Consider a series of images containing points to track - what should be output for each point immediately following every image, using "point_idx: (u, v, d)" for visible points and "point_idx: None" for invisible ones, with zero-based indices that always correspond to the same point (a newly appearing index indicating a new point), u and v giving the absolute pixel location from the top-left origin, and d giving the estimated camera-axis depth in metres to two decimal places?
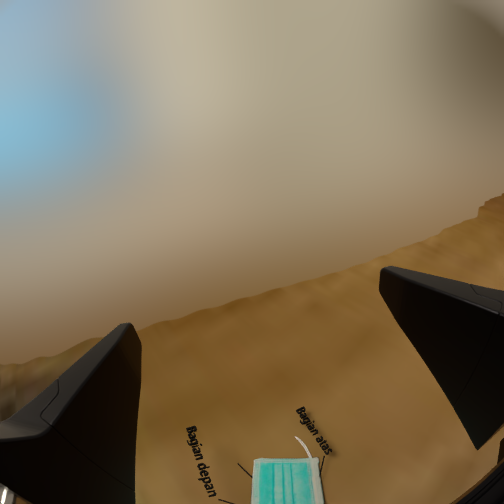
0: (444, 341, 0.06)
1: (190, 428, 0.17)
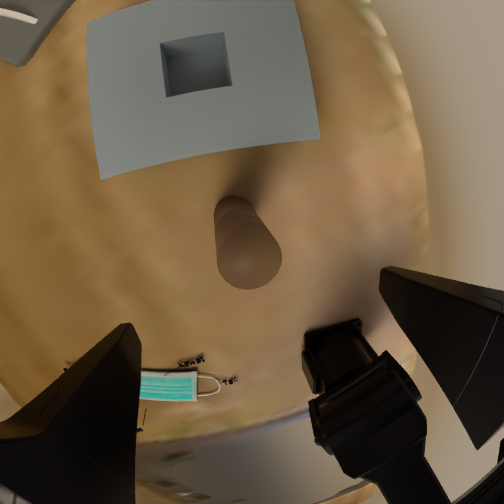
0: (444, 341, 0.06)
1: None
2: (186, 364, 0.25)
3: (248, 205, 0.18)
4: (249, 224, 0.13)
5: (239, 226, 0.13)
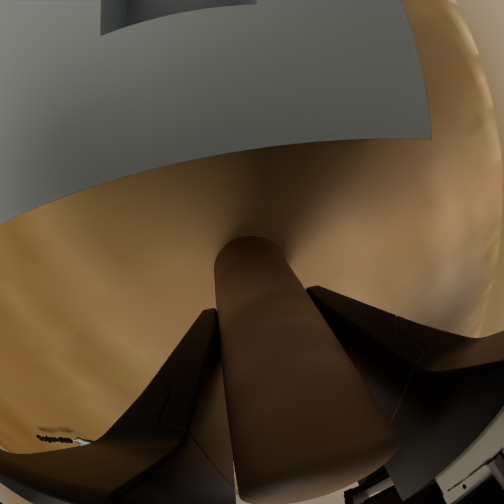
0: None
1: None
2: None
3: (285, 267, 0.09)
4: (333, 408, 0.03)
5: (305, 417, 0.03)
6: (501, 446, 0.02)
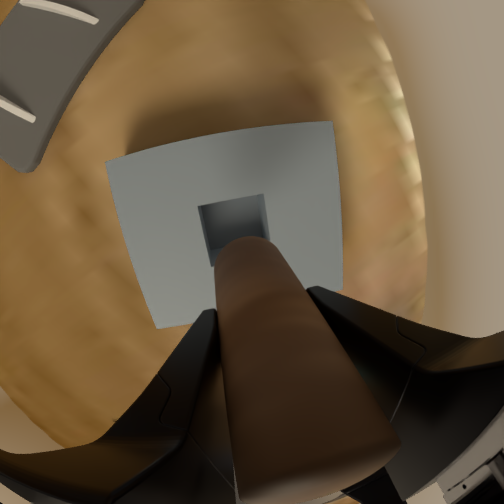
0: None
1: None
2: None
3: (285, 267, 0.09)
4: (334, 409, 0.03)
5: (306, 418, 0.03)
6: (501, 446, 0.02)
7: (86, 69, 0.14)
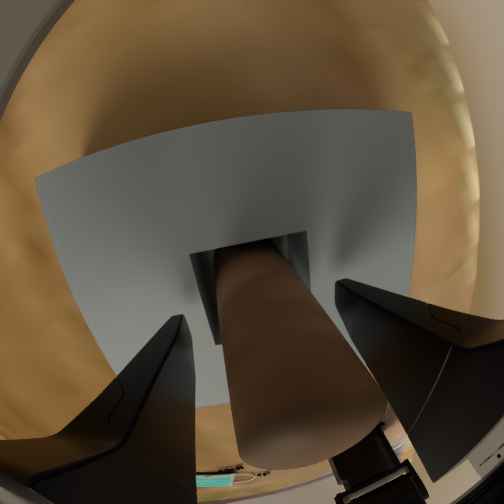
0: (395, 366, 0.06)
1: None
2: (226, 471, 0.22)
3: (279, 254, 0.10)
4: (321, 360, 0.04)
5: (296, 367, 0.04)
6: None
7: (37, 42, 0.07)
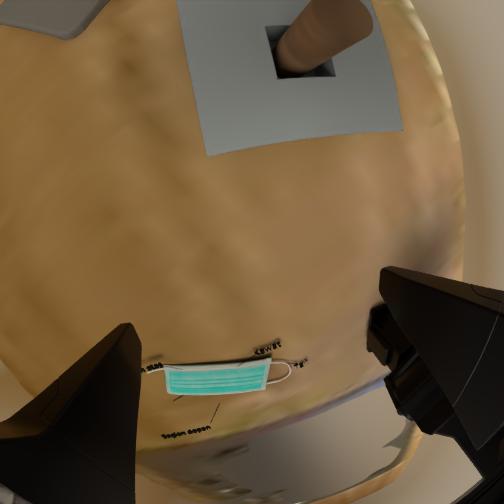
0: (444, 341, 0.06)
1: (164, 437, 0.25)
2: (262, 351, 0.26)
3: None
4: None
5: None
6: None
7: None
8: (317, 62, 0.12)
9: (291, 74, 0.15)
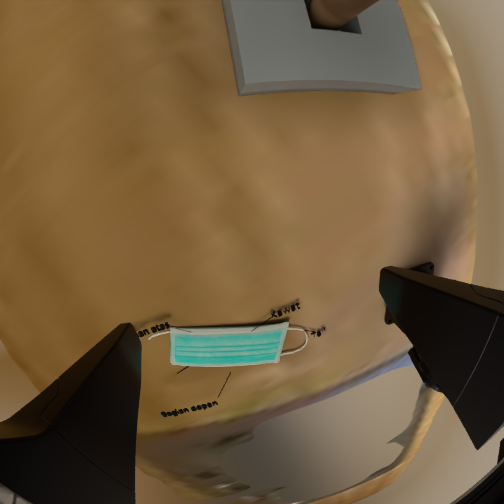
0: (444, 341, 0.06)
1: (163, 415, 0.23)
2: (280, 313, 0.24)
3: None
4: None
5: None
6: None
7: None
8: (347, 16, 0.11)
9: None
